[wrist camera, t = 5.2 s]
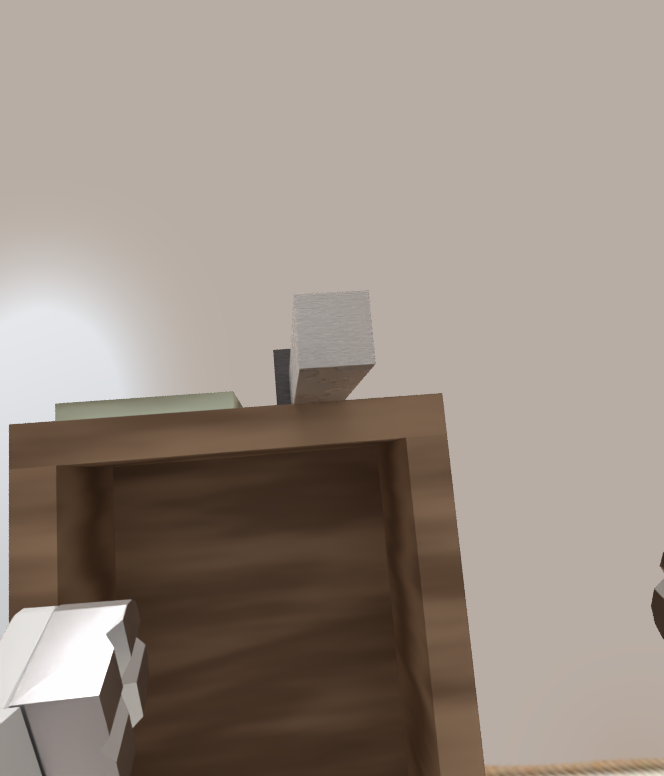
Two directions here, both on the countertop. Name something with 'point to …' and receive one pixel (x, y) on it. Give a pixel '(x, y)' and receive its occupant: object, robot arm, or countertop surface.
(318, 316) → the grey metal bar
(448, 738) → the brown wooden box
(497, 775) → the countertop surface
